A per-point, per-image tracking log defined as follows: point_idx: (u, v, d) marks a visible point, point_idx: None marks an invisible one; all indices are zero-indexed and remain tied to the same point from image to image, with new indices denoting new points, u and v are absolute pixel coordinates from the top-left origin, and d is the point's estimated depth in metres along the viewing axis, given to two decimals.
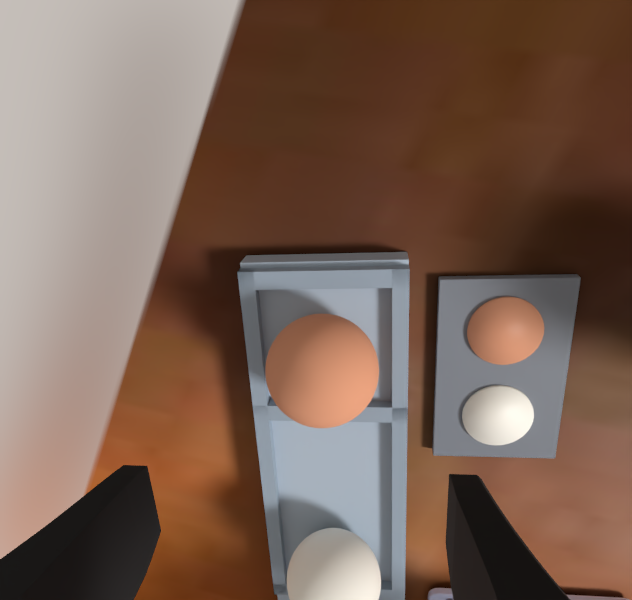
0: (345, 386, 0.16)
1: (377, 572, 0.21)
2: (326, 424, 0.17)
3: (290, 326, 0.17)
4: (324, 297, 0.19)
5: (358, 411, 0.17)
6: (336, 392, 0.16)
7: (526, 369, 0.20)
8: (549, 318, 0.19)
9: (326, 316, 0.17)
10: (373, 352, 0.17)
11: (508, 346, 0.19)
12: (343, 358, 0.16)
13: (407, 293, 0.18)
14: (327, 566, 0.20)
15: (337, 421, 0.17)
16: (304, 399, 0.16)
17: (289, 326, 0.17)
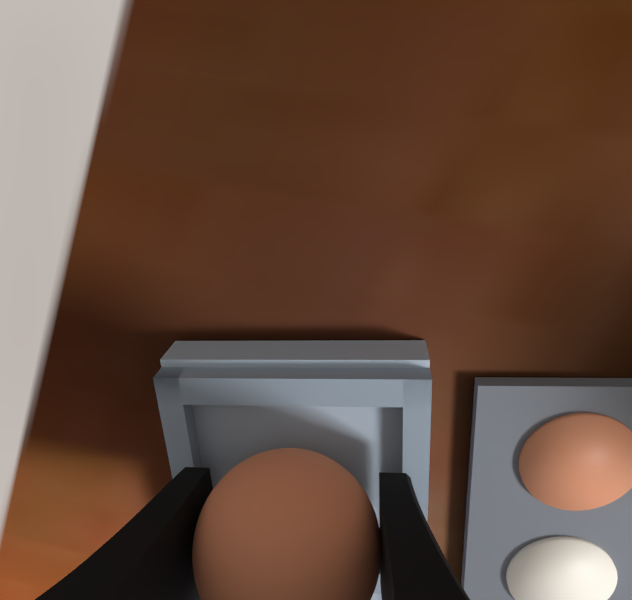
0: None
1: None
2: None
3: (232, 482, 0.10)
4: (294, 413, 0.12)
5: None
6: None
7: (609, 516, 0.13)
8: None
9: (293, 463, 0.10)
10: (372, 526, 0.10)
11: (583, 485, 0.12)
12: (319, 558, 0.09)
13: (428, 416, 0.11)
14: None
15: None
16: None
17: (231, 481, 0.10)
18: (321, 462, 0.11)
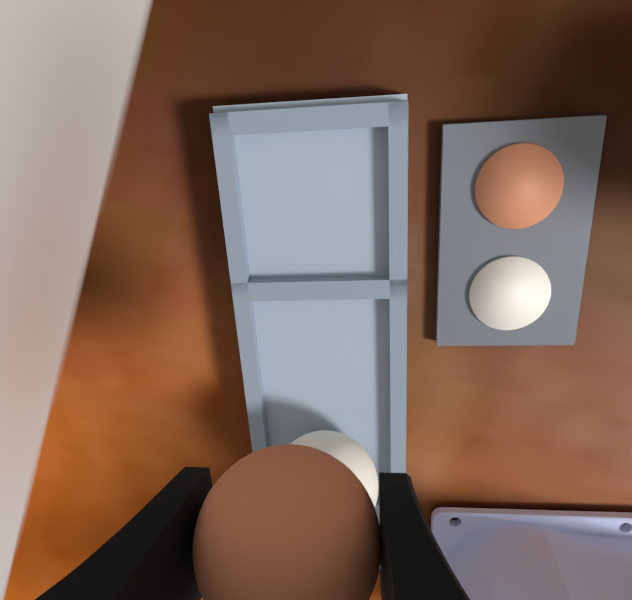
0: None
1: (374, 473, 0.18)
2: None
3: (232, 479, 0.10)
4: (310, 146, 0.17)
5: None
6: None
7: (543, 235, 0.17)
8: (569, 169, 0.17)
9: (293, 459, 0.10)
10: (372, 520, 0.10)
11: (522, 204, 0.17)
12: (320, 552, 0.09)
13: (406, 132, 0.16)
14: None
15: None
16: None
17: (231, 479, 0.10)
18: (320, 458, 0.11)
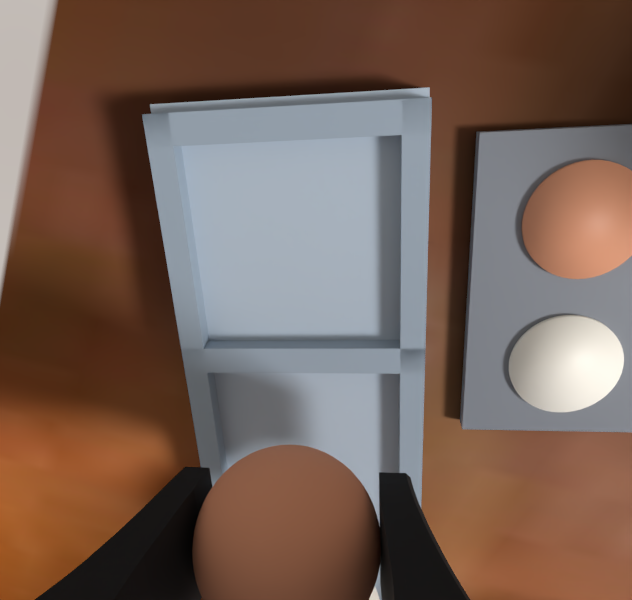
0: None
1: None
2: None
3: (232, 479, 0.10)
4: (289, 163, 0.12)
5: None
6: None
7: (616, 287, 0.12)
8: None
9: (292, 459, 0.10)
10: (372, 521, 0.10)
11: (588, 246, 0.12)
12: (320, 553, 0.09)
13: (427, 144, 0.11)
14: None
15: None
16: None
17: (230, 479, 0.10)
18: (320, 458, 0.11)
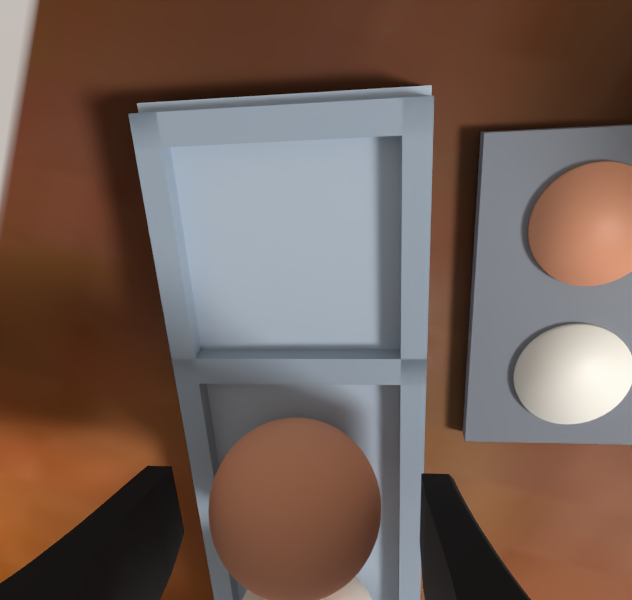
0: (330, 554, 0.10)
1: None
2: None
3: (245, 445, 0.11)
4: (284, 164, 0.11)
5: (351, 579, 0.11)
6: (315, 566, 0.10)
7: (626, 295, 0.12)
8: None
9: (300, 428, 0.11)
10: (372, 484, 0.11)
11: (598, 252, 0.11)
12: (326, 509, 0.10)
13: (429, 145, 0.10)
14: None
15: (319, 599, 0.11)
16: (264, 576, 0.10)
17: (243, 446, 0.11)
18: (325, 428, 0.12)
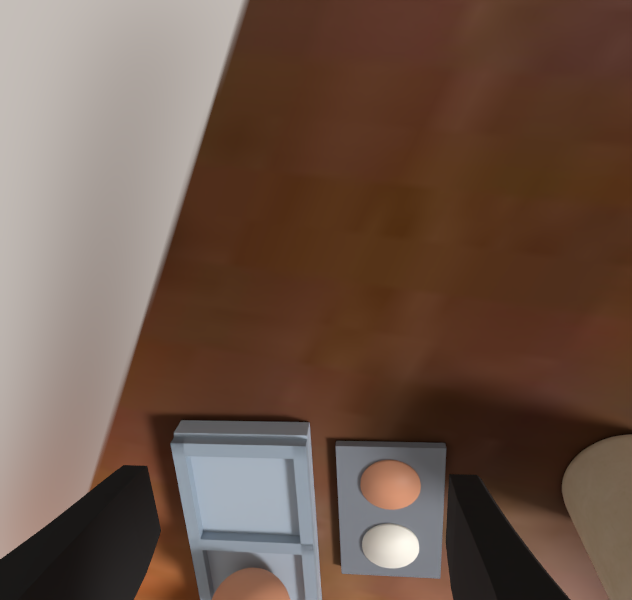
0: None
1: None
2: None
3: (225, 589, 0.24)
4: (242, 459, 0.24)
5: None
6: None
7: (410, 512, 0.24)
8: (424, 476, 0.23)
9: (251, 579, 0.24)
10: None
11: (393, 496, 0.24)
12: None
13: (305, 463, 0.23)
14: None
15: None
16: None
17: (224, 589, 0.24)
18: (264, 577, 0.24)
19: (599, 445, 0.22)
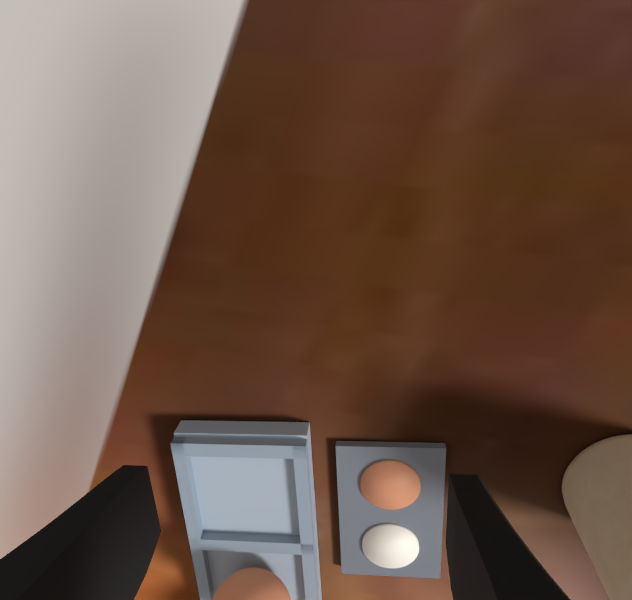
0: None
1: None
2: None
3: (226, 589, 0.24)
4: (242, 459, 0.24)
5: None
6: None
7: (410, 512, 0.24)
8: (424, 476, 0.23)
9: (252, 579, 0.24)
10: None
11: (393, 496, 0.24)
12: None
13: (305, 463, 0.23)
14: None
15: None
16: None
17: (225, 589, 0.24)
18: (265, 577, 0.24)
19: (598, 445, 0.22)
